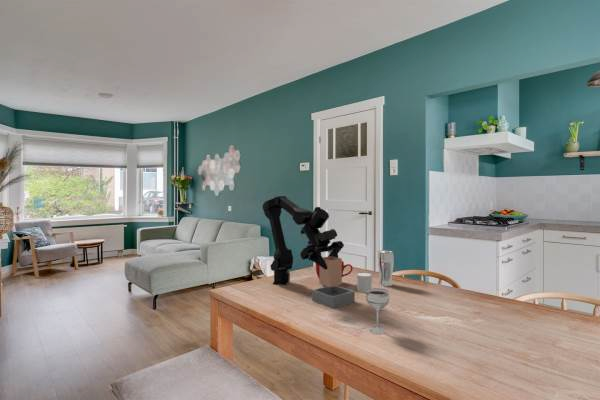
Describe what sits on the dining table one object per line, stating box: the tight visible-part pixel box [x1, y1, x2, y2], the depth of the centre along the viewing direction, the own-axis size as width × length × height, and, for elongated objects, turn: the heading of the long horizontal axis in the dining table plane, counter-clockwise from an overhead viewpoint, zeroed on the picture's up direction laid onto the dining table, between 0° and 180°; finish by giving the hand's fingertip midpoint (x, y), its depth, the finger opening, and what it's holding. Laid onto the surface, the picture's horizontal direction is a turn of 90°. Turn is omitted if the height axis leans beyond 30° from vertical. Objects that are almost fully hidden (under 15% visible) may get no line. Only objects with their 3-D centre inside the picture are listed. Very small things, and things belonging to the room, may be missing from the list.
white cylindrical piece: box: [355, 272, 373, 294], centre depth 141 cm, size 7×7×7 cm
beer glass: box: [377, 249, 395, 288], centre depth 150 cm, size 7×7×15 cm
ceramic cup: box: [315, 260, 354, 279], centre depth 152 cm, size 13×17×10 cm
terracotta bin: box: [318, 256, 343, 287], centre depth 127 cm, size 6×6×10 cm
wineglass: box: [365, 287, 390, 335], centre depth 101 cm, size 7×7×12 cm
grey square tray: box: [311, 285, 356, 309], centre depth 128 cm, size 12×12×4 cm
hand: (332, 267), depth 126 cm, fingers closed on terracotta bin, 6 cm apart
